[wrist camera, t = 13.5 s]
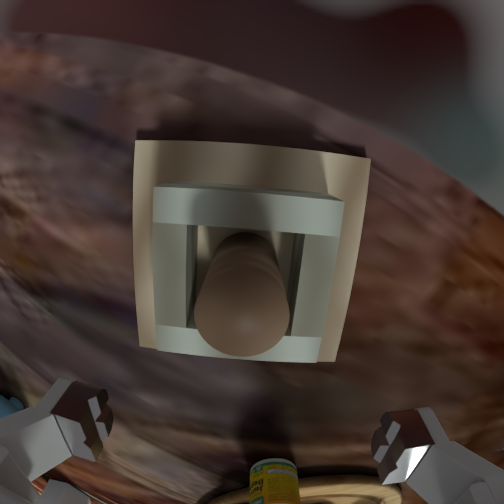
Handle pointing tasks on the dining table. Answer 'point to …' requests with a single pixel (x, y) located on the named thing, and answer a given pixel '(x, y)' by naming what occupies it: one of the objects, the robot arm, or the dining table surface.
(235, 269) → the peg
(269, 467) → the supplement bottle
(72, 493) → the jar
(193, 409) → the dining table surface
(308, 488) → the wooden plate with food
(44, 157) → the dining table surface
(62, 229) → the dining table surface
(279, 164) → the socket board
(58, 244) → the dining table surface
